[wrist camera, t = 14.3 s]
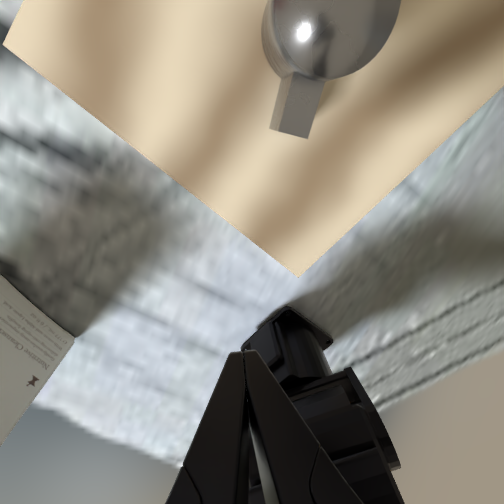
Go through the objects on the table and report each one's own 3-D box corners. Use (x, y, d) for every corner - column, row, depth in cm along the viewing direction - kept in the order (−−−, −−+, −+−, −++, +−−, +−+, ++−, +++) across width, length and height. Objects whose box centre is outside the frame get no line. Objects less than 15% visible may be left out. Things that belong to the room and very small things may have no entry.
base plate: (551, 28, 17) (571, 23, 16) (295, 271, 23) (298, 278, 22) (317, -571, 9) (329, -658, 8) (15, 48, 15) (1, 44, 14)
